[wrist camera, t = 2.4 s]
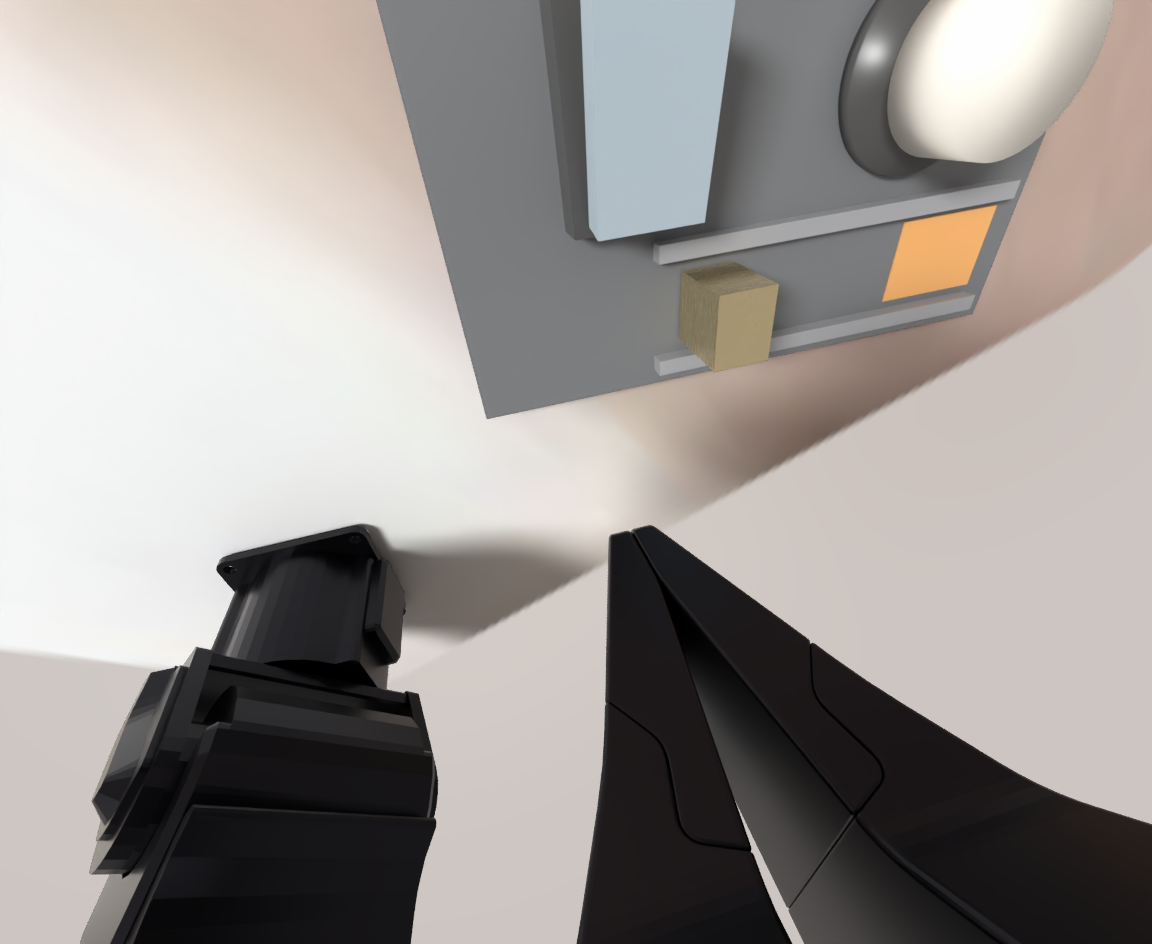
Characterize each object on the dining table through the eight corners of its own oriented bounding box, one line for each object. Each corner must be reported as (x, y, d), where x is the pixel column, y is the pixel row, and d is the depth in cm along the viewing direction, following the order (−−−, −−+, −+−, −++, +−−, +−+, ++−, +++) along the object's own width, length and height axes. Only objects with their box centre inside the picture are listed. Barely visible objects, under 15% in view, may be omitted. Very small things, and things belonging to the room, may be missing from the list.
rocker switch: (588, 227, 14) (598, 241, 14) (579, -25, 10) (592, -20, 10) (690, 209, 15) (704, 222, 14) (719, -41, 11) (740, -38, 10)
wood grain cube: (679, 339, 19) (713, 372, 17) (680, 270, 17) (719, 295, 15) (726, 329, 19) (767, 360, 17) (732, 261, 17) (779, 283, 15)
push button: (870, 167, 15) (925, 174, 14) (915, -29, 13) (990, -51, 11) (990, 147, 16) (1057, 151, 14) (1057, -46, 13) (1151, -70, 11)
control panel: (483, 401, 20) (489, 437, 18) (381, 9, 13) (369, -13, 11) (944, 303, 23) (1001, 324, 20) (1080, -72, 15) (1191, -103, 13)
